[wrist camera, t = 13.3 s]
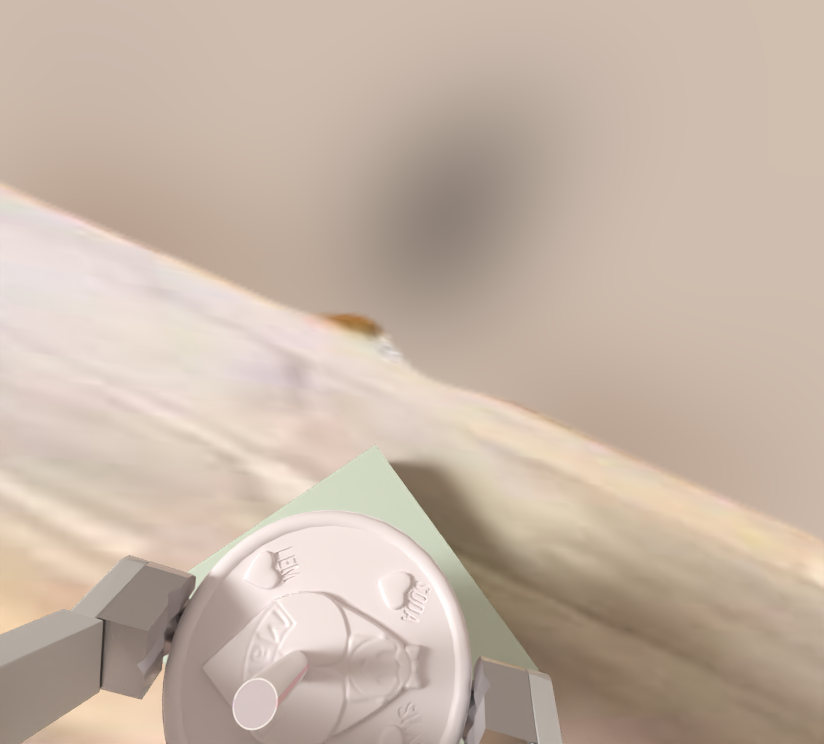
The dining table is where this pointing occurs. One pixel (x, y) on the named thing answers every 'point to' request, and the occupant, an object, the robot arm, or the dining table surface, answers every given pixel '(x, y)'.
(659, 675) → the dining table surface
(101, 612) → the robot arm
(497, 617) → the pedestal
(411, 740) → the smoothie
